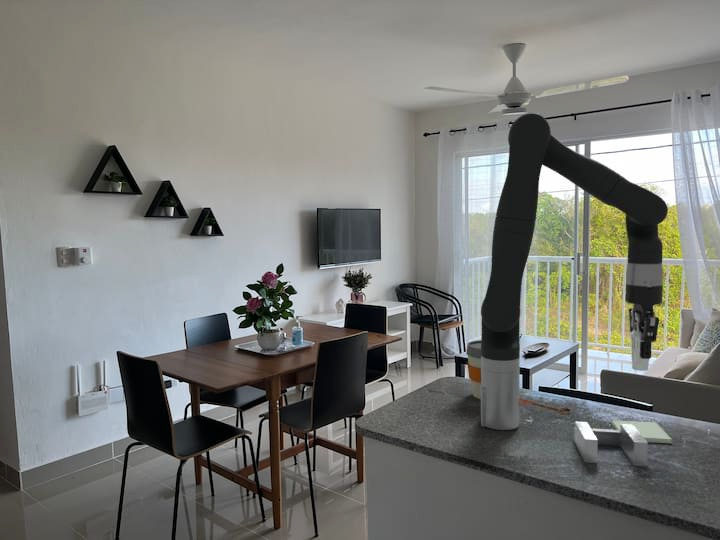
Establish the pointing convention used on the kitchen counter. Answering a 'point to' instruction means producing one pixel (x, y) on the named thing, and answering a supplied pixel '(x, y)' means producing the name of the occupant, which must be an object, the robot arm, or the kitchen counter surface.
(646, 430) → the mat
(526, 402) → the key
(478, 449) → the kitchen counter surface
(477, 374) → the reusable coffee cup
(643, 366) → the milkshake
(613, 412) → the kitchen counter surface
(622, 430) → the grey u-shaped bracket
